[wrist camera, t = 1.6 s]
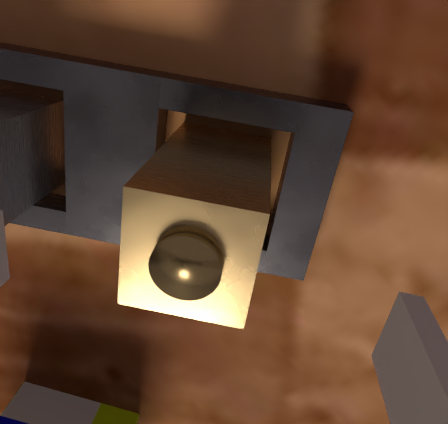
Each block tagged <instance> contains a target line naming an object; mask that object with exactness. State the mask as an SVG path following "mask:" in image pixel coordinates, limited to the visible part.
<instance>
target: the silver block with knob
mask: <svg viewBox="0 0 448 424" xmlns="http://www.w3.org/2000/svg"><path fill="white" fill-rule="evenodd" d="M64 182H65V141H64V100H59V99H54V98H49V97H43V96H38V95H32V94H27V93H21V92H16V91H10V90H5V89H0V210H2V211H3V218H4V226H6V225H7V224H8V223H10V222H11V221H12V220H14V219H15V218H16V217H18V216H19V215H20V214H22V213H23V212H25V211H26V210H27V209H29V208H30V207H31V206H33V205H34V204H35V203H37V202H38V201H39V200H41V199H42V198H44V197H45V196H46V195H48V194H49V193H50V192H52V191H53V190H54V189H56V188H57V187H59V186H60V185H61V184H63V183H64Z"/></svg>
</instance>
